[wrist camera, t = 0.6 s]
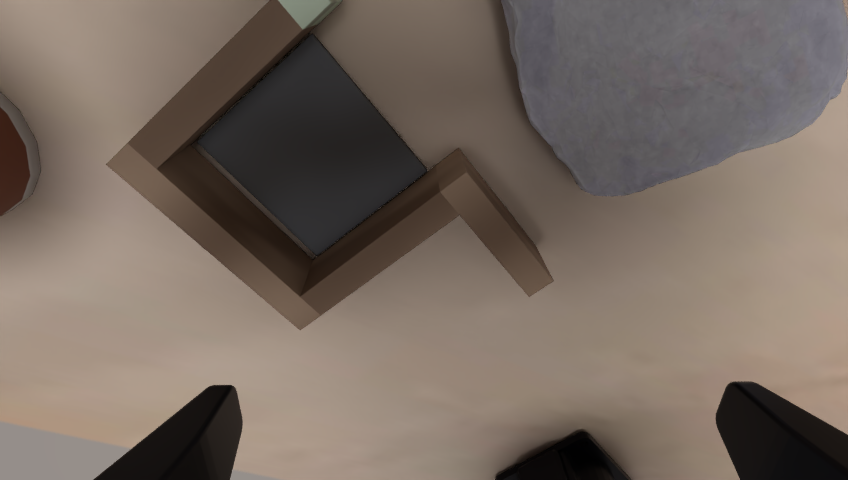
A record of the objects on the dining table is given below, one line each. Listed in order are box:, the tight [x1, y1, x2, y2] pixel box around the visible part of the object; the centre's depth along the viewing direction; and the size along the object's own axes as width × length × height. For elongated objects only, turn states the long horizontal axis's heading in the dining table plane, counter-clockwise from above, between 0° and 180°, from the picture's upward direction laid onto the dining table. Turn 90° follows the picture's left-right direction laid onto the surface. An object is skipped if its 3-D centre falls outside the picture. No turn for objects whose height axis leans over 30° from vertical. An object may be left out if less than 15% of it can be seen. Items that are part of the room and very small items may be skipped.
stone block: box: [501, 0, 848, 196], centre depth 17 cm, size 12×5×10 cm
